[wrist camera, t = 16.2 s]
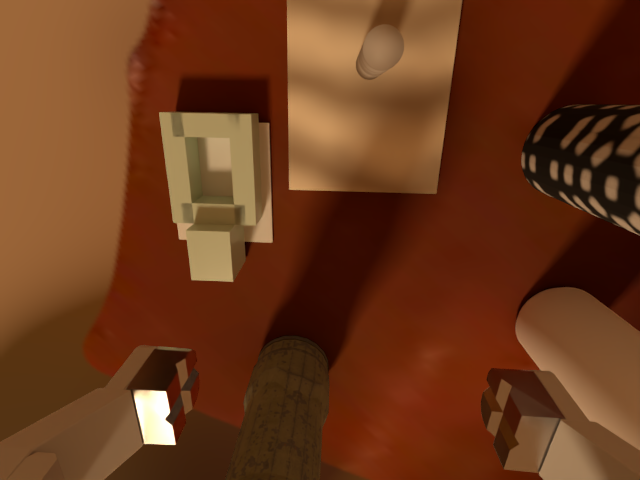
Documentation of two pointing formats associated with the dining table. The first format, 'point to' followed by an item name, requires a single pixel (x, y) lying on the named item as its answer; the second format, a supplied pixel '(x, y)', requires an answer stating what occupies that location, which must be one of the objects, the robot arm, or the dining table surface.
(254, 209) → the link
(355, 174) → the post stand
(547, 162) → the white-spotted black cylinder
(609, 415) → the alcohol
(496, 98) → the dining table surface
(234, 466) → the stone moai statue
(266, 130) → the mat
